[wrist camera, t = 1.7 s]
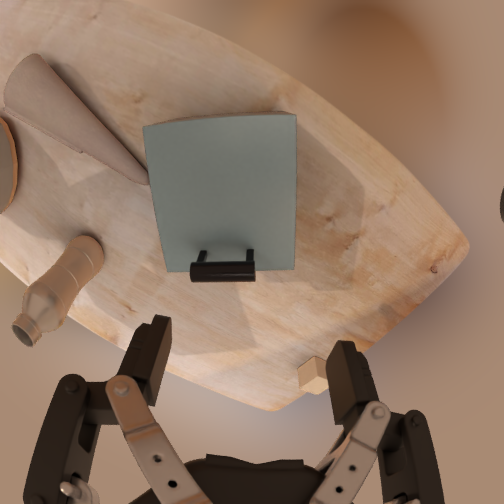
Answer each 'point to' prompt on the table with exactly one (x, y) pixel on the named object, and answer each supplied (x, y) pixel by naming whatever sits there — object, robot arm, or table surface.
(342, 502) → the robot arm
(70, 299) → the plastic bottle
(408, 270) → the table surface
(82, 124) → the beige long cone
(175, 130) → the lid
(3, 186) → the desk lamp
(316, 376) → the tan cube
